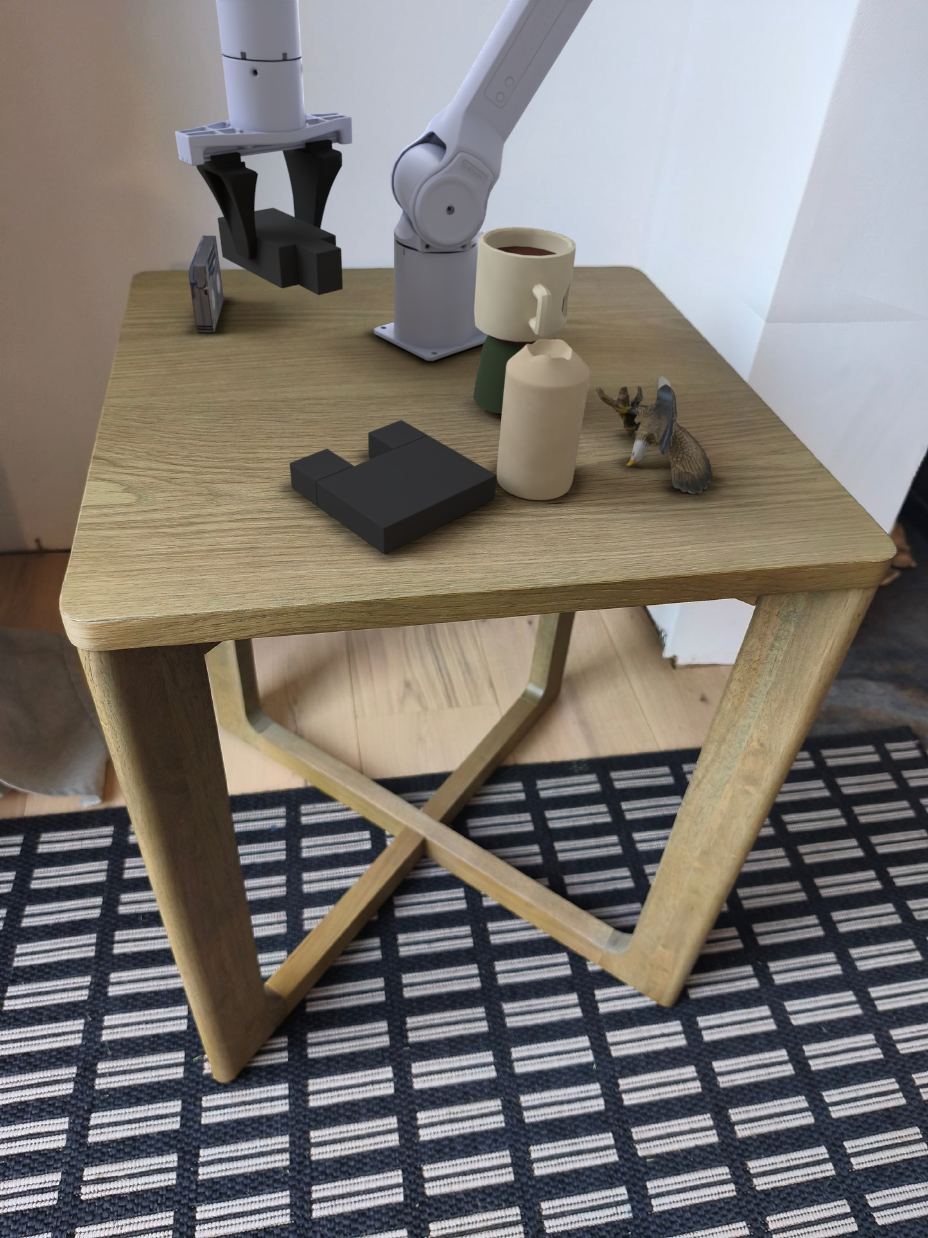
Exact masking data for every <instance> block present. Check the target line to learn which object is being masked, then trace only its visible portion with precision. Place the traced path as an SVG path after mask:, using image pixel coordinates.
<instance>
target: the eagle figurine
mask: <svg viewBox="0 0 928 1238" xmlns="http://www.w3.org/2000/svg"><path fill="white" fill-rule="evenodd" d="M656 385H657V386H656V398H655V401H654V403H651V404H650V405H646V404H641V402H642V401H643V400H644V395H643V388H642V387H641V386H640V384H638V385H637V387H636V389H637V390H636V395H635V396H634V398H633V399H632V400H631V399H630V393H629V388H628V386H627V385H625V386H621V387H620V388H619V390H618V392H617V399H614V398H612V397H611V396H609V395H608V394H607V393H606V392H605V391H604V390H603V389H602V387H600V386H596V387H595V391H596V394H597V397H598V398H599V400H601V402H603V403H604V404H605V405H606V406H609V407H611V408H612V409H613V410H614V412H615V413H617V414H618V417H620V419H621V421H622V424H623V429H624V432H625V433H626V437H628V438H632V437H633V435H634V434H635V432H636V434H635V440H634V443H633V448H632V451H631V454H630V459H629V461H628V462H627V463H626V466H627V467H631V466H633V465H634V464H635V463H638V462H641V460H643V458H644V456H645V454H646V453H647V451H648V449H649V448H650V447H651V445H654V444H655V445H658V446H659V452H660V453H661V455H662V456H665V455H666V456H667V459H668V461H669V464H670V476H671V483H672V487H673V488H674V489H679V490H680V491H681V492H682V493H686V492H688V493H689V494H691V495H695V494H702V493H703V490H706V489H708V484H710V483H711V479H712V478H713V471H712V465H711V463H710V462H711V461H710V459H709V457H708V456H707V453H706V451H705V449H704V448H703V447H702V445H701V444H700V442H699V441H698V439H696V437H695V436H693V435H692V434H691V433H690V431H688V429H686V428H685V427H684V426H682V425H681V424H680V423H679V422H678V406H677V397H676V393H675V390H674V389H673V388H672V384H671V382H670V381H669V380H668V379H667V377H664V376H662V375H660V376H658V377H657V384H656ZM630 401H631V402H630ZM637 417H638V418H639V419H640V421H638V422H637V421H635V420H636V418H637Z"/></svg>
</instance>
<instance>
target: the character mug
mask: <svg viewBox="0 0 928 1238" xmlns="http://www.w3.org/2000/svg"><path fill="white" fill-rule="evenodd" d="M484 232H485V233H483V234H482V235H481V236H480V237H479V243H478V257H477V273H476V289H475V304H474V317H475V326H476V327H477V328H478V329H479V330H481V331H482V332H483V333H485V334H488V336H487V338H486V340H485V342H484V343H483V344H482V349H481V354H480V359H479V362H478V368H477V371H476V377H475V378H476V379H475V384H474V390H473V396H472V398H473V401H474V402H475V404H476V406H477V407H479V408H481V409H484V410H486V411H488V412H492V413H497V414H502V407H503V396H504V385H505V374H506V365H507V362H508V360H509V359H510V358H512V357H513V356H514V355H515V354H516V353H518V352H519V351H520V350H521V349H523V348H524V347H525V346H526V345H527V344H534V343H535V342H536V341H537V340H540V339H552V338H553V337H555V336H558V335H559V334H560V332H561V331H562V330H564V328H565V326H566V324H567V322H568V317H569V316H568V314H569V313H568V303H569V301H568V300H569V293H570V292H569V290H570V286H571V283H572V281H573V278H574V267H575V266H574V265H575V259H576V252H577V251H576V250H577V246H576V242H575V241H574V240H573V239H572V238H570V237H569V236H567V235H564V234H562V233H559V232H555V231H552V230H549V229H541V228H537V227H536V228H535V227H527V226H526V227H524V226H522V227H521V226H508V227H499V228H498V227H497V228H494V229H490V230H487V231H484Z"/></svg>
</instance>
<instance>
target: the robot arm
mask: <svg viewBox="0 0 928 1238" xmlns="http://www.w3.org/2000/svg"><path fill="white" fill-rule="evenodd" d="M593 1H594V0H509V1H508V3H507V4H506V7H505V8H504V10H503V12H502V14H501V15H500V17H499V19H498V21H497V22H496V24H495V26H494V28H493V29H492V31H491V33H490V35H489V36H488V38H487V39H486V41H485V43H484V45H483V47H482V49H481V50H480V52H479V54H478V56H477V57H476V59H475V60H474V62H473V64H472V65H471V68H470V69H469V71H468V73H467V74H466V76H465V78H464V80H463V82H462V83H461V85H460V87H459V88H458V90H457V91H456V93H455V95H454V97H453V99H452V101H451V102H450V103H449V104H448V105H446V106H445V107H443V109H442V110H440V111H439V112H438V113H437V114H436V115H434V116H433V117H432V118H431V119H430V121H429V123H428V125H427V126H426V128H425V129H424V131H423V132H422V134H421V135H420V136H419V137H418V138H417V139H416V140H414V141H413V142H411V143H409V144H408V145H405V147H403V149H402V150H401V151H400V152H399V153H398V155H397V156H396V158H395V160H394V162H393V164H392V166H391V171H390V181H389V182H390V188H391V194H392V195H393V198H394V200H395V202H396V204H397V205H398V206H399V207H400V208H401V210H402V213H401V215H400V218H399V219H398V222H397V224H396V225H395V227H394V229H393V321H392V322H389V323H386V324H383V325H380V326H377V327H374V328H373V334H374V335H376V336H378V337H380V338H382V339H384V340H386V341H388V342H390V343H391V344H394V345H395V346H397V347H399V348H401V349H402V350H406V351H407V352H409V353H411V354H413V355H415V356H417V357H419V358H421V359H423V360H425V361H427V362H434V361H437V360H440V359H442V358H445V357H448V356H451V355H454V354H457V353H460V352H462V351H466V350H468V349H471V348H474V347H477V346H480V345H483V344H484V342H485V340H486V338H487V336H488V334H485V333H483V332H482V331H481V330H479V329H478V328H477V327H476V326H475V317H474V304H475V289H476V273H477V257H478V243H479V237H480V236H481V235H482V234H483V233H485V232H486V231H483V230H482V227H483V225H484V222H485V219H486V216H487V210H488V203H489V199H490V196H491V193H492V191H493V189H494V187H495V185H496V184H497V182H498V180H499V179H500V176H501V171H502V165H503V154H504V148H505V144H506V142H507V140H508V139H509V137H510V136H511V134H512V132H513V131H514V129H515V127H516V125H517V124H518V122H519V121H520V119H521V118H522V116H523V114H524V113H525V111H526V110H527V108H528V106H529V104H530V103H531V101H532V100H533V98H534V96H535V95H536V93H537V91H539V89H540V87H541V86H542V83H543V82H544V80H545V79H546V77H547V75H548V74H549V72H551V71H550V70H551V69H552V67H553V66H554V64H555V62H556V61H557V59H558V58H559V56H560V54H561V53H562V51H563V49H564V48H565V46H566V45H567V43H568V41H569V40H570V38H571V36H572V35H573V33H574V32H575V30H576V29H577V27H578V26H579V24H580V22H581V20H582V19H583V17H584V16H585V14H586V12H587V10H588V9H589V7H590V6H591V4H592V3H593ZM299 3H300V2H299V0H215V6H216V14H217V16H216V17H217V23H218V25H217V26H218V33H219V43H220V51H221V59H222V68H223V76H224V77H223V78H224V85H225V93H226V104H227V105H226V106H227V113H228V119H225V120H222V121H217V122H214V123H210V124H206V125H202V126H198V127H193V128H187V129H183V130H176V131H174V135H175V142H176V147H177V155H178V160H179V161H181V162H183V163H184V164H187V165H190V166H192V167H196V170H197V172H198V173H199V175H200V176H201V177H202V179H203V180H204V182H205V183H206V185H207V188H209V190H210V192H211V194H212V195H213V197H214V199H215V201H216V203H217V205H218V207H219V209H220V211H221V214H222V217H224V218H225V221H226V223H227V226H228V228H229V231H230V234H231V237H232V240H233V243H234V246H235V250H236V253H237V254H239V255H241V256H243V257H245V258H247V259H249V260H251V259H255V258H256V255H257V237H256V227H255V211H256V207H255V206H256V191H257V182H258V176H259V173H258V172H257V171H256V170H254V169H251V168H249V167H246V161H243V160H242V157H247V156H254V155H261V154H269V153H275V152H282V154H283V157H284V160H285V164H286V168H287V173H288V178H289V182H290V187H291V194H292V202H293V203H292V204H293V215H294V216H293V217H296V218H298V219H300V220H302V221H305V222H307V223H309V224H311V225H314V226H316V227H318V228H320V229H322V223H323V220H324V219H323V218H324V214H325V209H326V205H327V202H328V199H329V195H330V192H331V190H332V188H333V185H334V183H335V180H336V179H337V176H338V174H339V172H340V170H341V169H342V167H343V153H342V151H340V150H337V149H335V148H333V144H339V145H350V144H353V122H352V121H353V120H352V118H353V117H352V116H350V115H346V114H343V113H340V112H338V111H337V112H336V111H335V112H329V113H328V112H325V113H306V106H305V105H306V104H305V92H304V91H305V90H304V71H303V56H302V40H301V37H302V36H301V22H300V4H299Z"/></svg>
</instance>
